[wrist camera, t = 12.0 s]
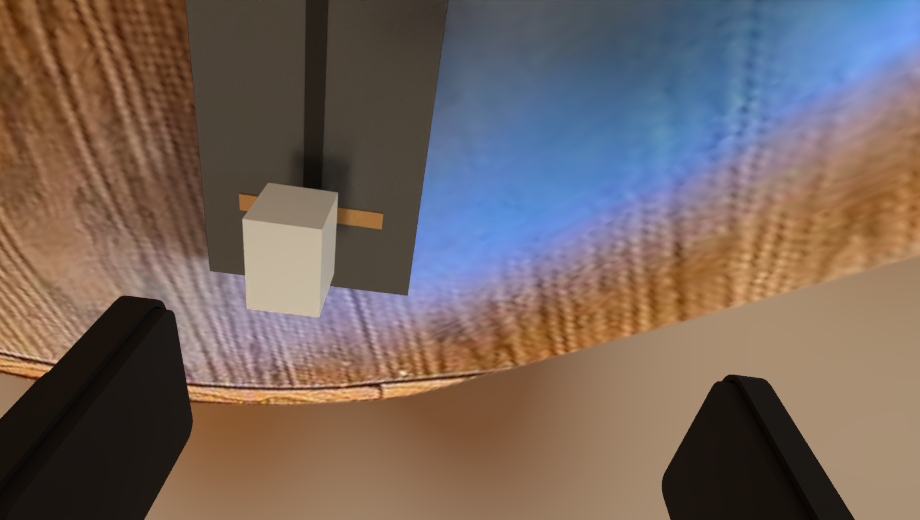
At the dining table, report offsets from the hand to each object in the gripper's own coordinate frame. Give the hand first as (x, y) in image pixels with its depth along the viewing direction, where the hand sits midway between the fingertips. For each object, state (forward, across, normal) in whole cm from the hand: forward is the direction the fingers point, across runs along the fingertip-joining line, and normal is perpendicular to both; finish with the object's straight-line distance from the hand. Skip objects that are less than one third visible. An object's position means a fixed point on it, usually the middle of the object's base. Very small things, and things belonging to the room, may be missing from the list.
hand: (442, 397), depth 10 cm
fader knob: (+20, +7, +8) cm, 23 cm away
